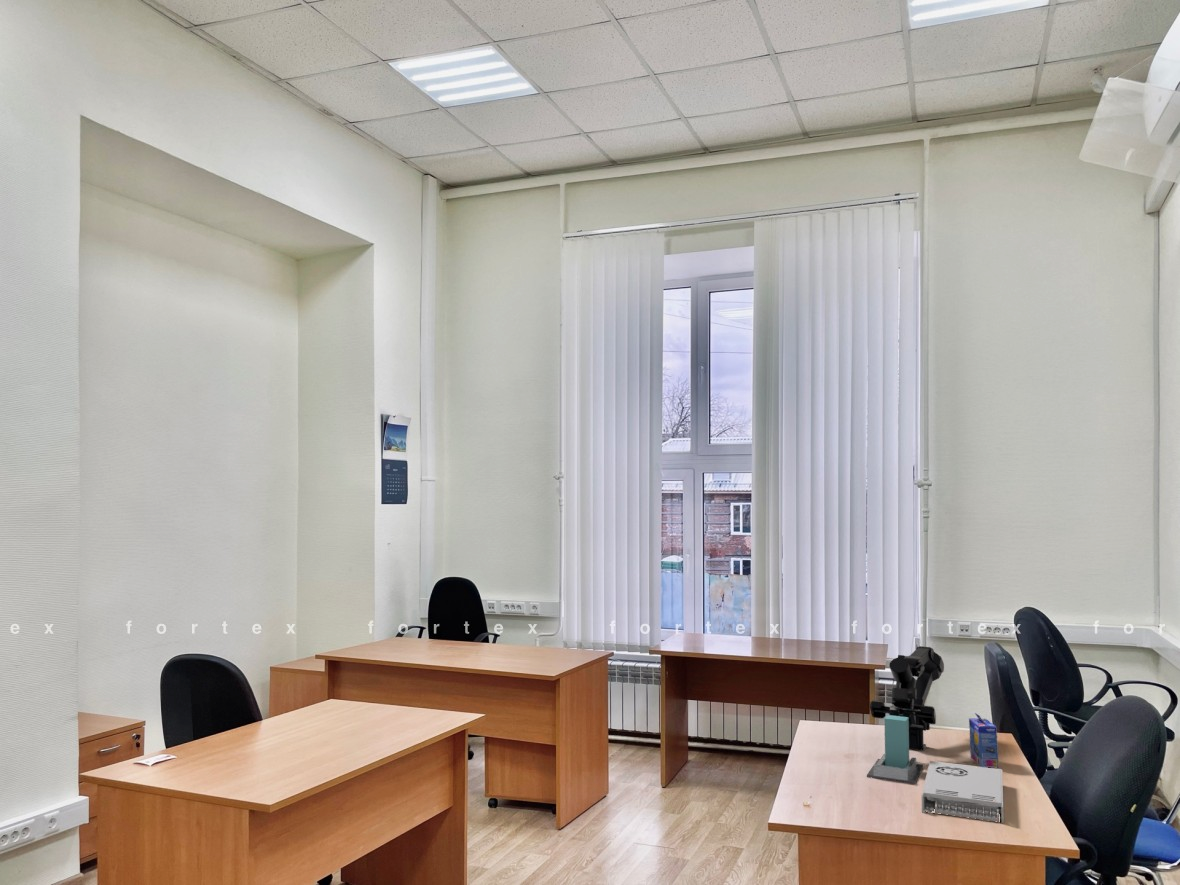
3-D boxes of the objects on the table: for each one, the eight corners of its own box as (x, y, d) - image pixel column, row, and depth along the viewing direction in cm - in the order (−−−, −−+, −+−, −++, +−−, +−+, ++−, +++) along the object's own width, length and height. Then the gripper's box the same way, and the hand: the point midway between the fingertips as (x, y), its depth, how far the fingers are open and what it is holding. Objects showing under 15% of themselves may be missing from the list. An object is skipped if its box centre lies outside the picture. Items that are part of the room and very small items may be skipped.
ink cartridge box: (968, 758, 275) (967, 710, 276) (987, 758, 274) (986, 710, 275) (979, 767, 265) (978, 717, 266) (999, 768, 264) (998, 718, 265)
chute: (878, 760, 271) (877, 748, 272) (923, 766, 265) (923, 754, 266) (866, 776, 255) (866, 764, 256) (914, 783, 249) (914, 770, 250)
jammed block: (888, 762, 267) (887, 714, 268) (909, 765, 264) (908, 717, 265) (885, 767, 262) (884, 718, 263) (906, 770, 259) (905, 720, 260)
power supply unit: (921, 815, 226) (921, 794, 227) (930, 778, 256) (929, 760, 257) (1003, 826, 219) (1003, 805, 219) (1002, 787, 249) (1002, 769, 249)
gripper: (870, 673, 279) (864, 717, 268) (934, 679, 270) (930, 724, 260) (875, 694, 285) (869, 738, 275) (937, 701, 276) (934, 746, 266)
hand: (899, 736), depth 269 cm, fingers closed
